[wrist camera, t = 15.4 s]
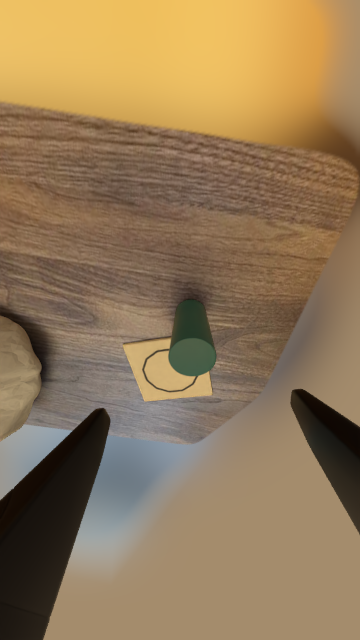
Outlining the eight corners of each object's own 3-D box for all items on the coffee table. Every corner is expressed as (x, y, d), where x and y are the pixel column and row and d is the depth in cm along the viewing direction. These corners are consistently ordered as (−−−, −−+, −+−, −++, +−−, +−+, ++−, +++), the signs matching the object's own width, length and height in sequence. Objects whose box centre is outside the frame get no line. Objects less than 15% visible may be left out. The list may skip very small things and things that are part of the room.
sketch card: (212, 392, 24) (212, 395, 24) (145, 399, 25) (144, 401, 25) (203, 332, 20) (203, 334, 20) (123, 343, 21) (122, 345, 21)
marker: (206, 320, 19) (218, 374, 12) (179, 324, 20) (173, 379, 12) (202, 294, 18) (213, 334, 10) (173, 299, 18) (163, 341, 11)
